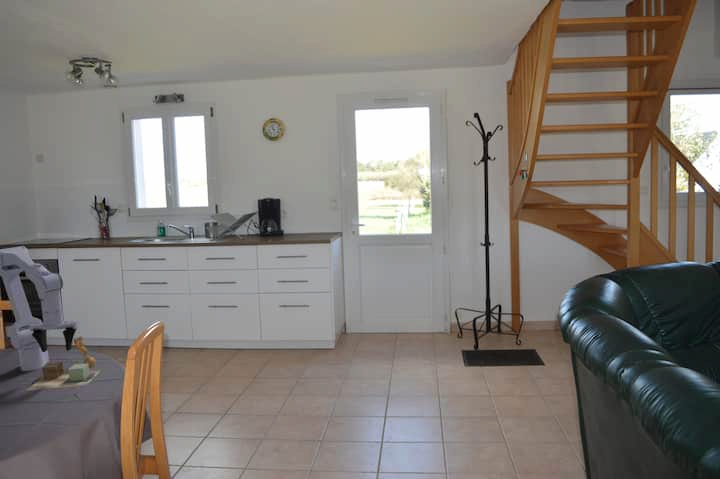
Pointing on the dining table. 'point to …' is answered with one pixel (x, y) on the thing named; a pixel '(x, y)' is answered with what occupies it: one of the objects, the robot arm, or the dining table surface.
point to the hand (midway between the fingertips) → (56, 350)
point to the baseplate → (62, 381)
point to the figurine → (88, 359)
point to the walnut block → (52, 370)
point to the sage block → (78, 372)
